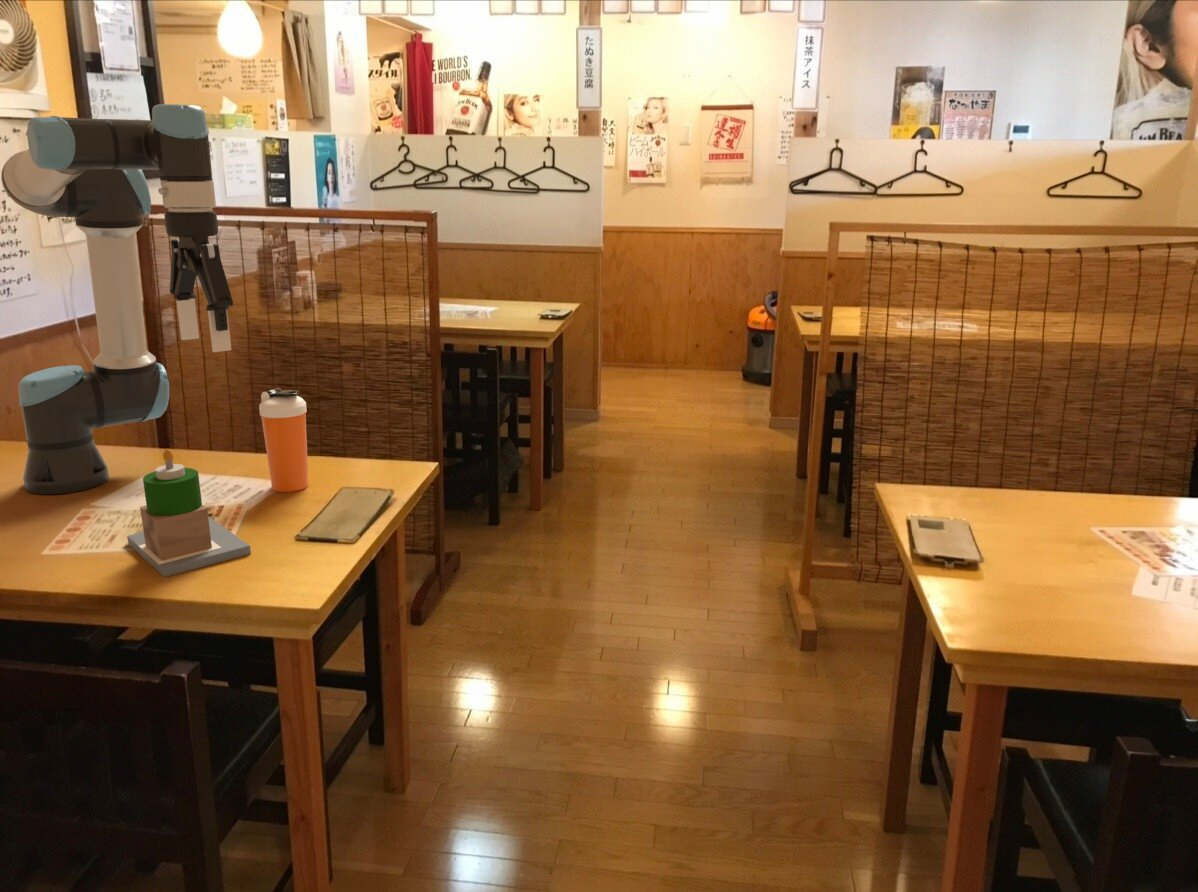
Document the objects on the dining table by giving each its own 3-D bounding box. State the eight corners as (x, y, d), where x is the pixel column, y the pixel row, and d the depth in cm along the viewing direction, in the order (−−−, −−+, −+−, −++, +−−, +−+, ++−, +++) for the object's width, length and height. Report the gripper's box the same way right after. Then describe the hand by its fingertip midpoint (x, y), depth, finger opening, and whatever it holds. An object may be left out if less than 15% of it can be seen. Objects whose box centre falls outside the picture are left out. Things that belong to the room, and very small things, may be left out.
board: (128, 543, 161) (126, 535, 160) (210, 524, 170) (209, 515, 169) (164, 577, 148) (163, 567, 148) (250, 553, 157) (249, 544, 157)
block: (145, 546, 156) (139, 506, 154) (194, 534, 161) (189, 496, 159) (161, 560, 150) (156, 520, 148) (211, 547, 155) (207, 508, 153)
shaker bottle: (299, 495, 185) (290, 397, 179) (258, 492, 186) (248, 394, 181) (321, 481, 193) (313, 387, 187) (281, 478, 195) (272, 384, 189)
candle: (212, 504, 155) (205, 447, 152) (166, 519, 148) (158, 459, 145) (182, 495, 159) (175, 439, 156) (136, 509, 153) (128, 450, 150)
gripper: (138, 207, 152) (155, 336, 158) (195, 214, 134) (211, 359, 140) (185, 206, 156) (200, 332, 163) (246, 212, 139) (260, 353, 145)
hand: (205, 345), depth 151 cm, fingers open, 13 cm apart
